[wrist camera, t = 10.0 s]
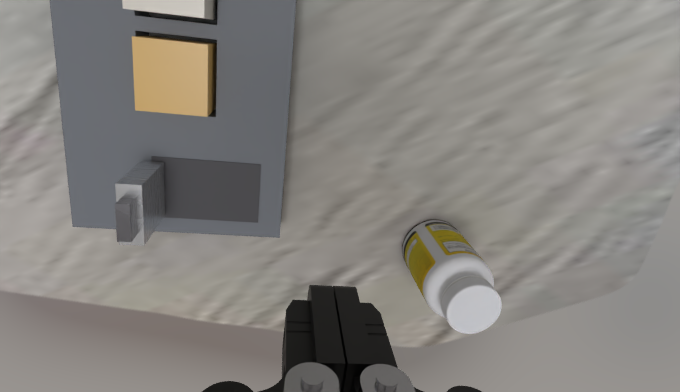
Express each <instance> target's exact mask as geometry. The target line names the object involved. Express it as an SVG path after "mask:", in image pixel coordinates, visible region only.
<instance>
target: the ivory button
mask: <svg viewBox="0 0 680 392" xmlns="http://www.w3.org/2000/svg"><path fill="white" fill-rule="evenodd" d="M122 5H123V9H129V10H136V11H143V12H151V13H160V14H168V15H177V16H185V17H194V18H202V19H211V20H215V0H122Z"/></svg>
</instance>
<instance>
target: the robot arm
mask: <svg viewBox="0 0 680 392" xmlns="http://www.w3.org/2000/svg"><path fill="white" fill-rule="evenodd" d="M203 392H253V391H252V390H251V389H250V388H249V387H248V386H246V385H244V384H242V383H239V382H233V381H227V382H226V381H225V382H220V383H216V384H213V385H212V386H210V387H208V388H206V389H205V390H204V391H203ZM259 392H423V391H420V390H418V389H416V388H415V387H413V385H412V383H411V381H410V379H409V377H408V376H407V375H406V374H405V373H404V372H403V371H401V370H400V369H398V368H397V365H396V361H395V358H394V355H393V352H392V348H391V345H390V342H389V339H388V336H387V333H386V329H385V327H384V323H383V320H382V317H381V314H380V312H379V311H378V310H377V309H376V308H375V307H374V306H373V305H372V304H371V303H360V301H359V297H358V293H357V289H356V287H344V286H333V287H332V286H322V285H310V286H309V290H308V299H307V301H306V300H293V301H292V302H291V303H290V305H289V306H288V308H287V309H286V317H285V328H284V338H283V348H282V379H281V380H280V381H279V383H277V384H276V385H274V386H273V387H271V388H269V389H266V390H263V391H259ZM447 392H481V391H480V390H477V389H475V388H472V387H468V386H456V387H453V388H451V389H449V390H448V391H447Z"/></svg>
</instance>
